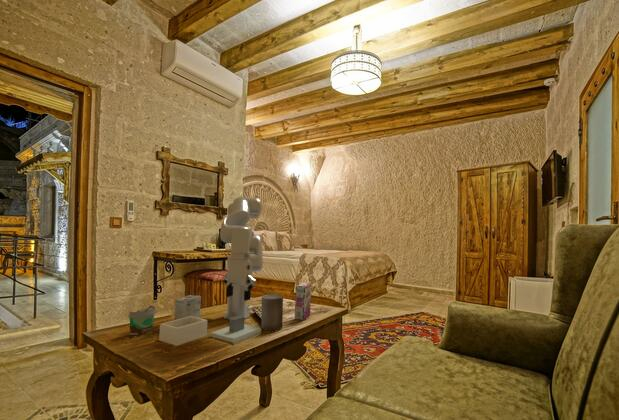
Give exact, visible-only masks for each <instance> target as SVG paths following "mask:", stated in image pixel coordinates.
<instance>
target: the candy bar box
mask: <svg viewBox="0 0 619 420" xmlns="http://www.w3.org/2000/svg"><path fill="white" fill-rule="evenodd" d="M294 299H295V301H294V302H295V303H294V305H295V306H294V320H297V321H304V320H306V319H307V318H308V317H310V316H311V301H312V300H311V299H312V283H309V282H302V283H300V284H298V285H296V286H295V298H294ZM305 318H306V319H305Z"/></svg>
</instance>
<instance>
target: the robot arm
mask: <svg viewBox="0 0 619 420" xmlns="http://www.w3.org/2000/svg"><path fill="white" fill-rule="evenodd" d="M262 205H263V204H262V201H261V199H260V198H257V197H248V196H247V197H246V196H245V197H244V196H239V197H237V198H235V199H234V200H233V201H232V202H231V203H230V204H228V206H227V215H226V216H225V217H224V218H223V219H222V221H221V224H220V225H221V226H220V235H219V236H220V240H221V242H223V243H230V254H229V255H228V256H227V263H226V265H227V273H225V274H222V278H223V282H224V284H225V287H226V293H225V294H226V297H227V301H226V302H227V303H226V312H225V313H224V314H223V315H222V316H223V319H225V320H229V321H230V319H231V318H234V317H237V316H244V317H245V319H244V320H246V319H248V318H250V313H249V311H251V310H253V305H249V306H248V303H247V302H248V301H249V300H251V298H252V297H251V294H252V293H251V292H252V291H251V290H253V289H254V287H255V286H256V283H257V280H256V279H255V278H254V277H253V273H257V272H260V271H262V269H263V265H264V264H263V262H264V260H263V259H264V258H263V256H264V255H263V240H262V237H261V236H260V235H258V234H255V232H254V229H253V227H252V226H251V225H250V226H249V225H247V223H248V222H249V221H250V220H251V219H252V220H253V219H254V220H255V219H259V218H260V216H261V213H262V210H263V209H262V208H263V206H262Z"/></svg>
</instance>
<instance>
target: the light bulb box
mask: <svg viewBox="0 0 619 420" xmlns="http://www.w3.org/2000/svg"><path fill="white" fill-rule="evenodd" d="M201 301H202V296H201V295H192V294H189V295H186V296H183V297H180V298H175V299H174V315H173V316H174V320H177V319H181V318H185V317H189V316H193V317H197V318H201V306H202V305H201Z"/></svg>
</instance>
